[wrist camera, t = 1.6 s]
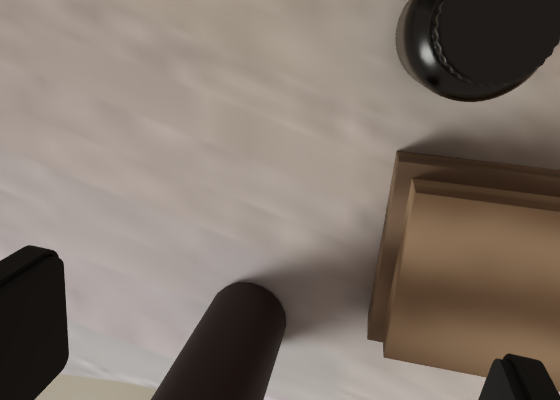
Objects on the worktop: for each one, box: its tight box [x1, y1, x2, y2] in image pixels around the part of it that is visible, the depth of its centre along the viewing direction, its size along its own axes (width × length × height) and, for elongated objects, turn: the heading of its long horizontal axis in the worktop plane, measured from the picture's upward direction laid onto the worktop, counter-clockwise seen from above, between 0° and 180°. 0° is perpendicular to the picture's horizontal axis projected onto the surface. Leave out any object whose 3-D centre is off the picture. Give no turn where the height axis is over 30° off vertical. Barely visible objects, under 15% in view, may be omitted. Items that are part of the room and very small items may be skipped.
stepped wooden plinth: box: [367, 151, 560, 391], centre depth 30 cm, size 14×14×6 cm
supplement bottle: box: [396, 0, 560, 102], centre depth 23 cm, size 7×7×12 cm
